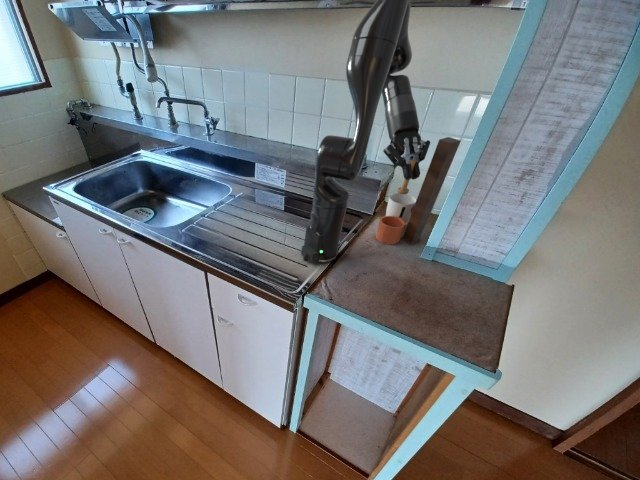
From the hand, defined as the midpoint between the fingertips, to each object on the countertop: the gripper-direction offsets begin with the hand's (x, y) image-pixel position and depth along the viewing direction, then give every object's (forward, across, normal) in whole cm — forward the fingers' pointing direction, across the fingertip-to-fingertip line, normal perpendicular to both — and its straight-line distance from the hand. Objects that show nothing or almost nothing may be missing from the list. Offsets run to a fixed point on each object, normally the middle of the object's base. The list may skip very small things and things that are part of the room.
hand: (412, 178), depth 89 cm
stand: (+15, +6, +14) cm, 21 cm away
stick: (+2, 0, +5) cm, 5 cm away
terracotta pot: (+13, 0, +16) cm, 20 cm away
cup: (+9, +6, +20) cm, 23 cm away
